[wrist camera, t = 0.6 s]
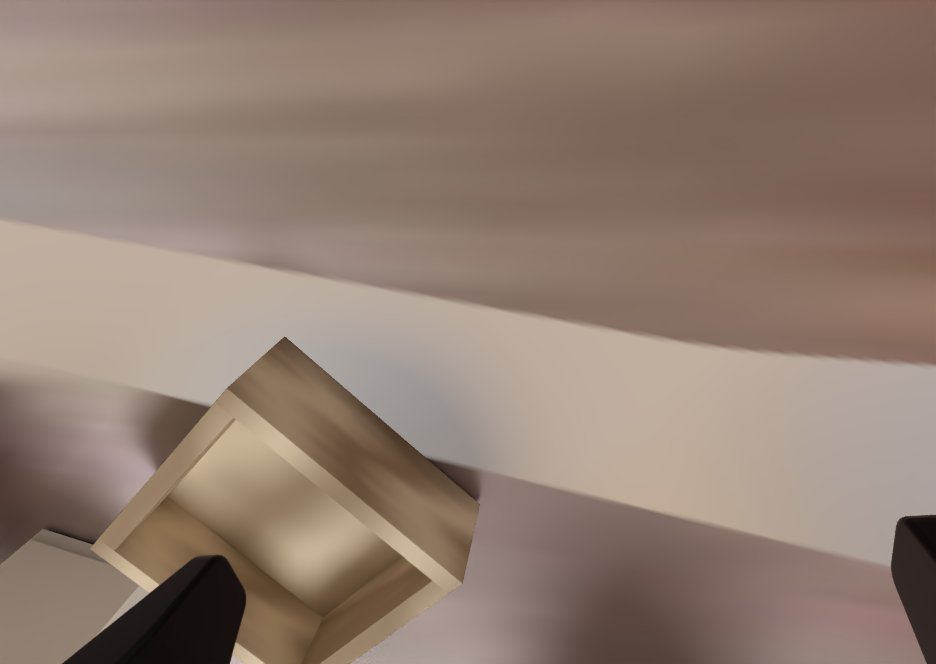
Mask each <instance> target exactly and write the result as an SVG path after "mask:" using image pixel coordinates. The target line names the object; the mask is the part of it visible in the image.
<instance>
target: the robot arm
mask: <svg viewBox="0 0 936 664" xmlns="http://www.w3.org/2000/svg"><path fill="white" fill-rule="evenodd" d="M891 571H892V577H893V580H894V584H895V586H896V589H897V592H898V594H899V596H900V599H901V601H902V604H903V606H904V609H905V611H906V614H907V616H908V619H909V621H910V623H911V626H912V628H913V631H914V633H915V636H916V638H917V641H918V643H919V646H920V648H921V651H922V653H923V655H924V658H925V660H926V663H927V664H936V515H922V516H905V517H902V518H901V519H899V521H898V522H897V525H896V531H895V539H894V546H893V553H892V561H891ZM245 607H246V591H245V589H244V587H243V585H242V583H241V581H240V580H239V578H238V576H237V575H236V573H235V571H234V570H233V568H232V566H231V564H230V563H229V561H228V560H227V558H226V557H224V556H223V555H219V554H217V555H201V556H197V557H195V558H193V559H191V560H190V561H189V562H188V563H186V564H185V565H184V566H183V567H181V568H180V569H179V570H178V571H176V572H175V573H174V574H173V575H171V576H170V577H169V578H168V579H166V580H165V581H164V582H163V583H161V584H160V585H159V586H158V587H156V588H155V589H154V590H153V591H152V592H150V593H149V594H148V595H147V596H145V597H144V598H143V599H142V600H140V601H139V602H138V603H137V604H135V605H134V606H133V607H132V608H130V609H129V610H128V611H127V612H125V613H124V614H123V615H122V616H120V617H119V618H118V619H117V620H115V621H114V622H113V623H112V624H110V625H109V626H108V627H107V628H105V629H104V630H103V631H102V632H100V633H99V634H98V635H97V636H96V637H94V638H93V639H92V640H91V641H89V642H88V643H87V644H86V645H84V646H83V647H82V648H81V649H79V650H78V651H77V652H76V653H74V654H73V655H72V656H71V657H69V658H68V659H67V660H66V661H64V662H63V663H62V664H230V661H231V657H232V654H233V650H234V647H235V643H236V640H237V636H238V632H239V629H240V625H241V622H242V618H243V615H244V611H245Z"/></svg>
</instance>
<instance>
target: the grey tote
mask: <svg viewBox="0 0 936 664" xmlns="http://www.w3.org/2000/svg"><path fill="white" fill-rule="evenodd" d="M92 546H93V545H92V544H89V543H86V542H83V541H80V540H76V539H73V538H70V537H67V536H64V535H61V534H58V533H54V532H51V531H48V530H45V529H42V530H41V531H40V532H38V533H37V534H36V535H35V536H34V537H32V538H31V539H30V540H29V541H28V542H27V543H25V544H24V545H23V546H22V547H21V548H20V549H18V550H17V551H16V552H15V553H14V554H12V555H11V556H10V557H9V558H8V559H7V560H5V561H4V562H3V563H2V564H1V565H0V664H62V663H63V662H64V661H66V660H67V659H68V658H69V657H71V656H72V655H73V654H74V653H76V652H77V651H78V650H79V649H81V648H82V647H83V646H84V645H86V644H87V643H88V642H89V641H91V640H92V639H93V638H94V637H96V636H97V635H98V634H99V633H100V632H102V631H103V630H104V629H105V628H107V627H108V626H109V625H110V624H112V623H113V622H114V621H115V620H117V619H118V618H119V617H120V616H122V615H123V614H124V613H125V612H127V611H128V610H129V609H130V608H132V607H133V606H134V605H135V604H137V603H138V602H139V601H140V600H142V599H143V598H144V597H145V596H147V595H148V594H149V592H147V591H146V590H145V589H143V588H142V587H141V586H139V585H138V584H137V583H135V582H134V581H133V580H131V579H130V578H129V577H127V576H126V575H124V574H123V573H122V572H120V571H119V570H118V569H116V568H115V567H114V566H112V565H111V564H110V563H108V562H107V561H106V560H104V559H103V558H102V557H100V556H99V555H98V554H96V553H95V552H93V551H92V550H91V549H90V548H91V547H92Z"/></svg>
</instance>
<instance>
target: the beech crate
mask: <svg viewBox="0 0 936 664" xmlns="http://www.w3.org/2000/svg"><path fill="white" fill-rule="evenodd" d="M479 506H480V504H479V503H477V502H476V501H475V500H474V499H473V498H472V497H470V496H469V495H468V494H467V493H466V492H465V491H463V490H462V489H461V488H460V487H459V486H458V485H457V484H455V483H454V482H453V481H452V480H451V479H450V478H448V477H447V476H446V475H445V474H444V473H443V472H441V471H440V470H439V469H438V468H437V467H436V466H434V465H433V464H432V463H431V462H430V461H429V460H428V459H426V458H425V457H424V456H423V455H422V454H421V453H419V452H418V451H417V450H416V449H415V448H414V447H412V446H411V445H410V444H409V443H408V442H407V441H405V440H404V439H403V438H402V437H401V436H400V435H398V434H397V433H396V432H395V431H394V430H393V429H391V428H390V427H389V426H388V425H387V424H386V423H385V422H383V421H382V420H381V419H380V418H378V416H376V415H375V414H374V413H373V412H372V411H371V410H370V409H368V408H367V407H366V406H365V405H364V404H362V403H361V402H360V401H359V400H358V399H356V397H354V396H353V395H352V394H351V393H350V392H349V391H347V390H346V389H345V388H344V387H343V386H342V385H340V384H339V383H338V382H337V381H335V379H333V378H332V377H331V376H330V375H329V374H328V373H326V372H325V371H324V370H323V369H322V368H321V367H319V366H318V365H317V364H316V363H315V362H314V361H313V360H312V359H310V358H309V357H308V356H307V355H306V354H304V353H303V352H302V351H301V350H300V349H299V348H298V347H296V346H295V345H294V344H293V343H292V342H291V341H289V340H288V339H287V338H286V337H284V338H283V339H281V340H280V341H279V342H278V343H277V344H276V345H275V346H274V347H273V348H271V349H270V350H269V351H268V352H267V353H266V354H265V355H264V356H262V357H261V358H260V359H259V360H258V361H257V362H256V363H255V364H254V365H252V366H251V367H250V368H249V369H248V370H247V371H246V372H245V373H244V374H242V375H241V376H240V377H239V378H238V379H237V380H236V381H235V382H233V383H232V384H231V385H230V386H229V387H228V388H227V389H226V390H225V391H224V392H223V393H222V395H221V396H220V397H219V398H218V399H217V401H216V402H215V403H214V404H213V405H212V406H211V408H210V409H209V410H208V411H207V412H206V413H205V415H204V416H203V417H202V418H201V419H200V420H199V422H198V423H197V424H196V425H195V426H194V427H193V429H192V430H191V431H190V432H189V433H188V434H187V436H186V437H185V438H184V439H183V440H182V441H181V443H180V444H179V445H178V446H177V447H176V448H175V450H174V451H173V452H172V453H171V454H170V456H169V457H168V458H167V459H166V460H165V461H164V463H163V464H162V465H161V466H160V467H159V468H158V470H157V471H156V472H155V473H154V474H153V475H152V477H151V478H150V479H149V480H148V481H147V482H146V484H145V485H144V486H143V487H142V488H141V489H140V491H139V492H138V493H137V494H136V495H135V496H134V498H133V499H132V500H131V501H130V502H129V503H128V505H127V506H126V507H125V508H124V509H123V510H122V512H121V513H120V514H119V515H118V516H117V518H116V519H115V520H114V521H113V522H112V523H111V525H110V526H109V527H108V528H107V529H106V530H105V532H104V533H103V534H102V535H101V536H100V537H99V539H98V540H97V541H96V542H95V543H94V544H93V546H92V547H91V548H90V549H91V550H92V551H93V552H95V553H96V554H98V555H99V556H100V557H102V558H103V559H104V560H106V561H107V562H108V563H110V564H111V565H112V566H114V567H115V568H116V569H118V570H119V571H120V572H122V573H123V574H124V575H126V576H127V577H129V578H130V579H131V580H133V581H134V582H135V583H137V584H138V585H139V586H141V587H142V588H143V589H145V590H146V591H147V592H149V593H150V592H152V591H153V590H154V589H155V588H156V587H158V586H159V585H160V584H161V583H163V582H164V581H165V580H166V579H168V578H169V577H170V576H171V575H173V574H174V573H175V572H176V571H178V570H179V569H180V568H181V567H183V566H184V565H185V564H186V563H188V562H189V561H190V560H191V559H193V558H195V557H197V556H201V555H217V554H219V555H223V556H224V557H226V558H227V560H228V561H229V563H230V564H231V566H232V568H233V570H234V571H235V573H236V575H237V576H238V578H239V580H240V581H241V583H242V585H243V587H244V589H245V591H246V607H245V611H244V615H243V618H242V622H241V625H240V629H239V632H238V636H237V640H236V643H235V647H234V650H233V654H232V655H234V656H235V657H236V658H238V659H239V660H240V661H242V662H243V663H244V664H350V663H352V662H353V661H354V660H356V659H357V658H359V657H360V656H361V655H363V654H364V653H366V652H367V651H369V650H370V649H371V648H373V647H374V646H376V645H377V644H378V643H380V642H381V641H383V640H384V639H385V638H387V637H388V636H390V635H391V634H392V633H394V632H395V631H397V630H398V629H399V628H401V627H402V626H404V625H405V624H406V623H408V622H409V621H411V620H412V619H413V618H415V617H416V616H418V615H419V614H420V613H422V612H423V611H425V610H426V609H428V608H429V607H430V606H432V605H433V604H435V603H436V602H437V601H439V600H440V599H442V598H443V597H444V596H446V595H447V594H449V593H450V592H451V591H453V590H454V589H456V588H457V587H458V586H460V585H461V584H463V579H464V574H465V570H466V565H467V561H468V556H469V552H470V547H471V542H472V538H473V533H474V529H475V524H476V520H477V515H478V510H479Z"/></svg>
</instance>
